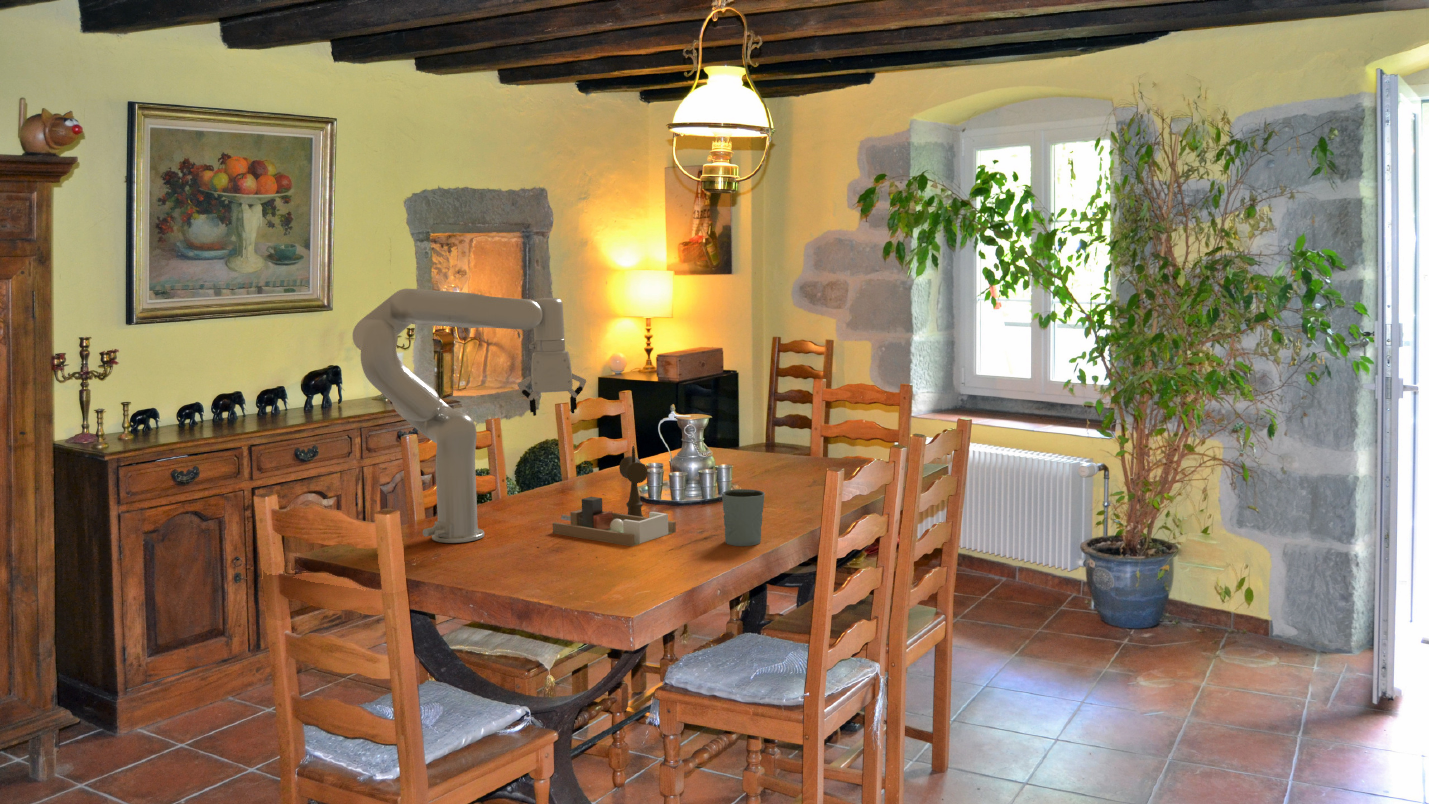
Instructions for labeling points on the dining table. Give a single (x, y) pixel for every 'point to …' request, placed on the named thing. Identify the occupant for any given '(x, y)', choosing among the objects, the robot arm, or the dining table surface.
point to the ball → (617, 525)
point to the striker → (593, 514)
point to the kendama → (633, 481)
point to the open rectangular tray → (633, 528)
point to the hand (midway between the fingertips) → (553, 413)
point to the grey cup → (743, 516)
